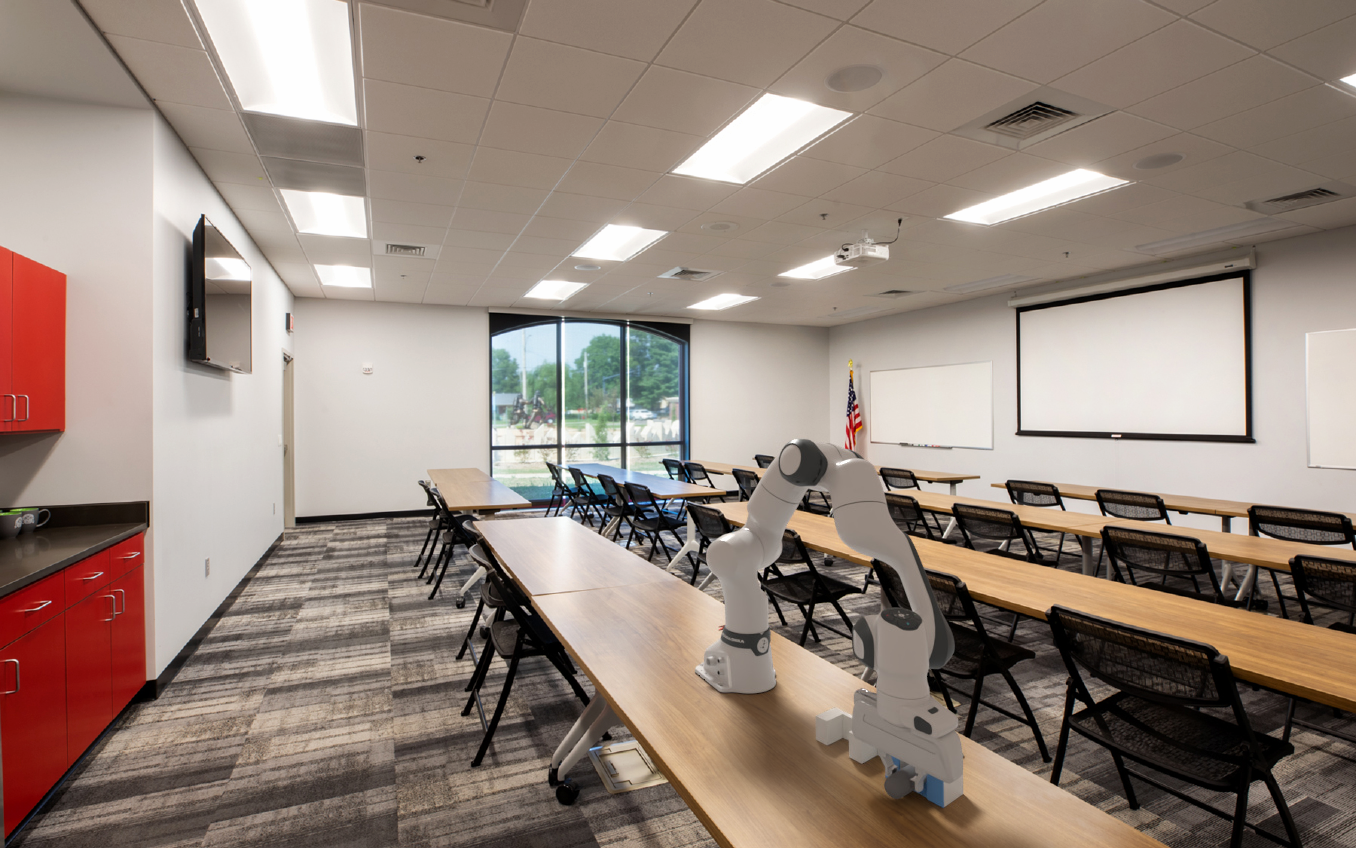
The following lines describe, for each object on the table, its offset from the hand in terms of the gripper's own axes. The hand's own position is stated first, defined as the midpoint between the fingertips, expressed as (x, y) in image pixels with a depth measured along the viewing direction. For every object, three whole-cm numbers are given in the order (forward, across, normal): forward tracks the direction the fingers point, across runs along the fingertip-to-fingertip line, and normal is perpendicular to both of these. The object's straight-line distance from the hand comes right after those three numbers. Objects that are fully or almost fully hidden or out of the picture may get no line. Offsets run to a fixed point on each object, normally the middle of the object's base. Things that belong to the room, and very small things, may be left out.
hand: (904, 783), depth 108 cm
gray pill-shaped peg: (+2, 0, +1) cm, 2 cm away
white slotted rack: (+3, -8, +6) cm, 11 cm away
